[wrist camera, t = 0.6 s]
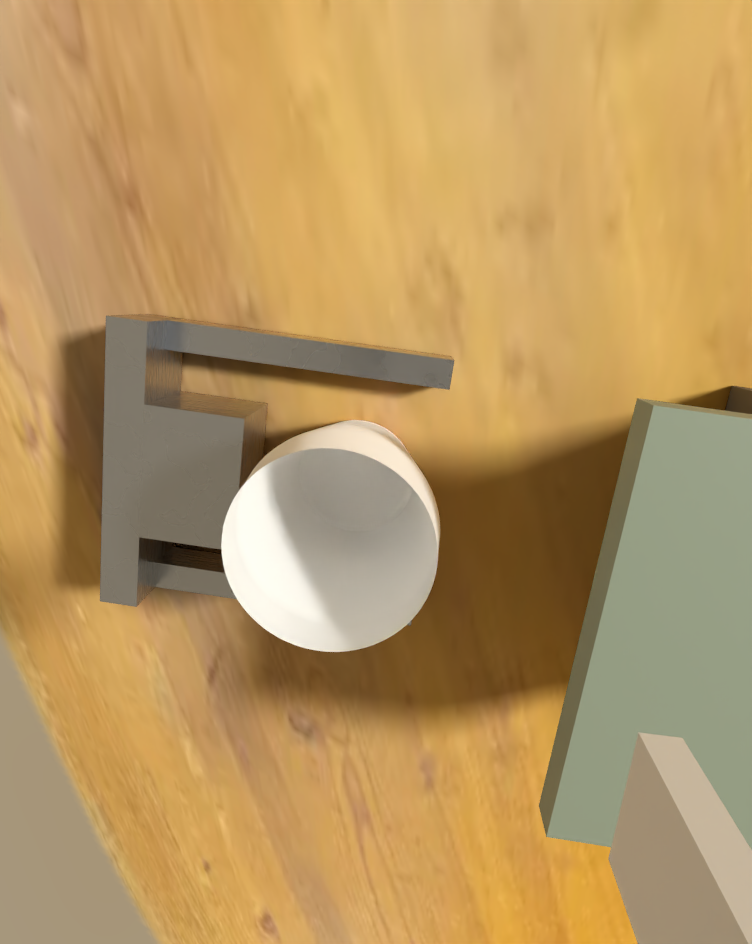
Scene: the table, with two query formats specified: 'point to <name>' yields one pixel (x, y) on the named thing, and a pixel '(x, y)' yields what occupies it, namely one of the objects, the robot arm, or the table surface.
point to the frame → (198, 442)
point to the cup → (333, 538)
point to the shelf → (664, 621)
